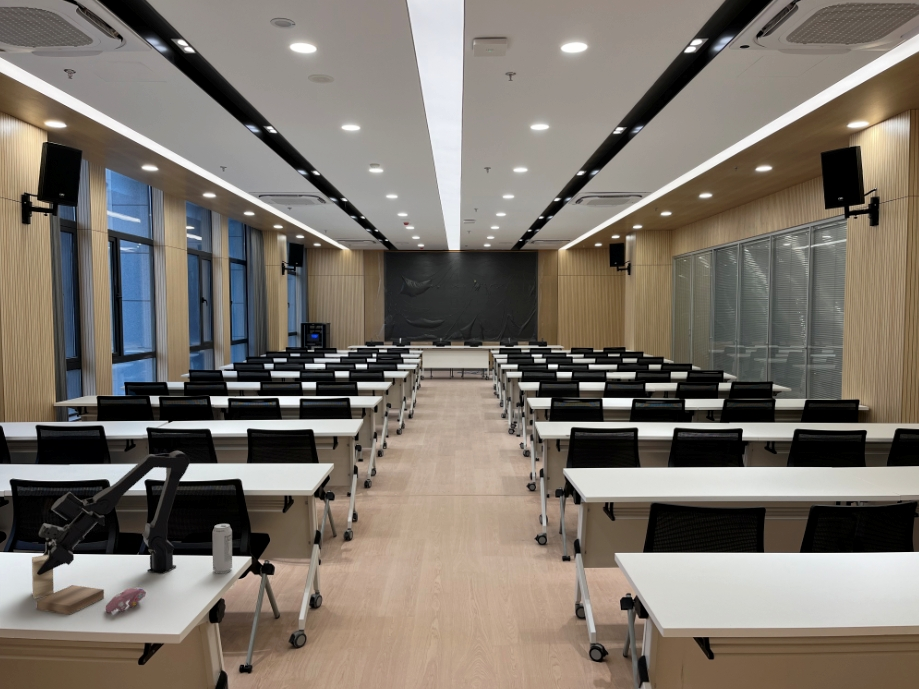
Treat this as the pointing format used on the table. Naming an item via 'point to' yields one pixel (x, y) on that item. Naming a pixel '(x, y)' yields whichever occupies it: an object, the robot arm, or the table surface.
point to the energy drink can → (222, 548)
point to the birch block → (41, 578)
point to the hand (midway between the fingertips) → (37, 571)
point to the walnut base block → (70, 599)
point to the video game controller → (125, 599)
